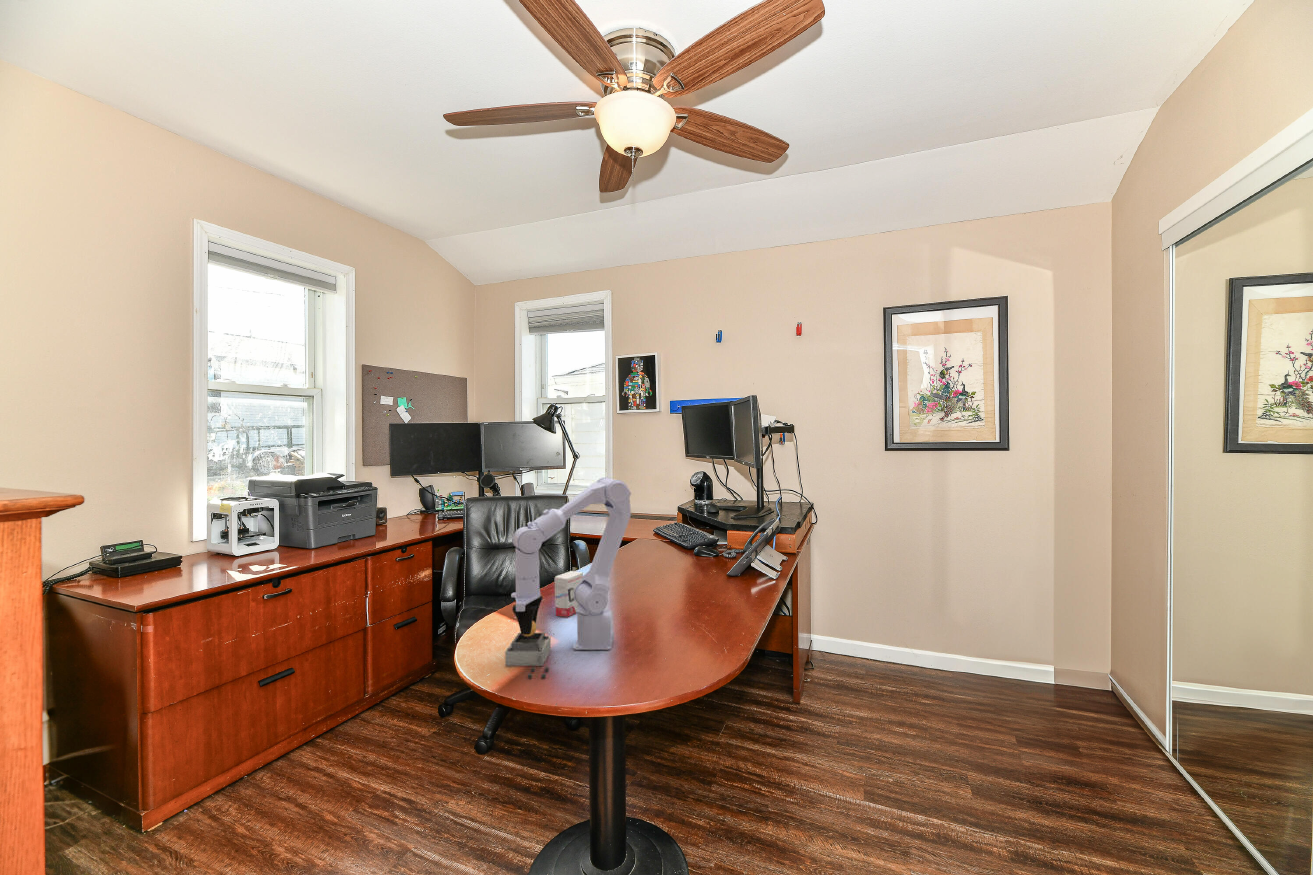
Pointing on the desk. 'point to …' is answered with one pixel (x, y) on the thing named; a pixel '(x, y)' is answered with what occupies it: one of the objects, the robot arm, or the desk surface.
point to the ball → (531, 630)
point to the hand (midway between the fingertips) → (528, 630)
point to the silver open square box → (528, 650)
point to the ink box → (566, 593)
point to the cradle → (541, 675)
